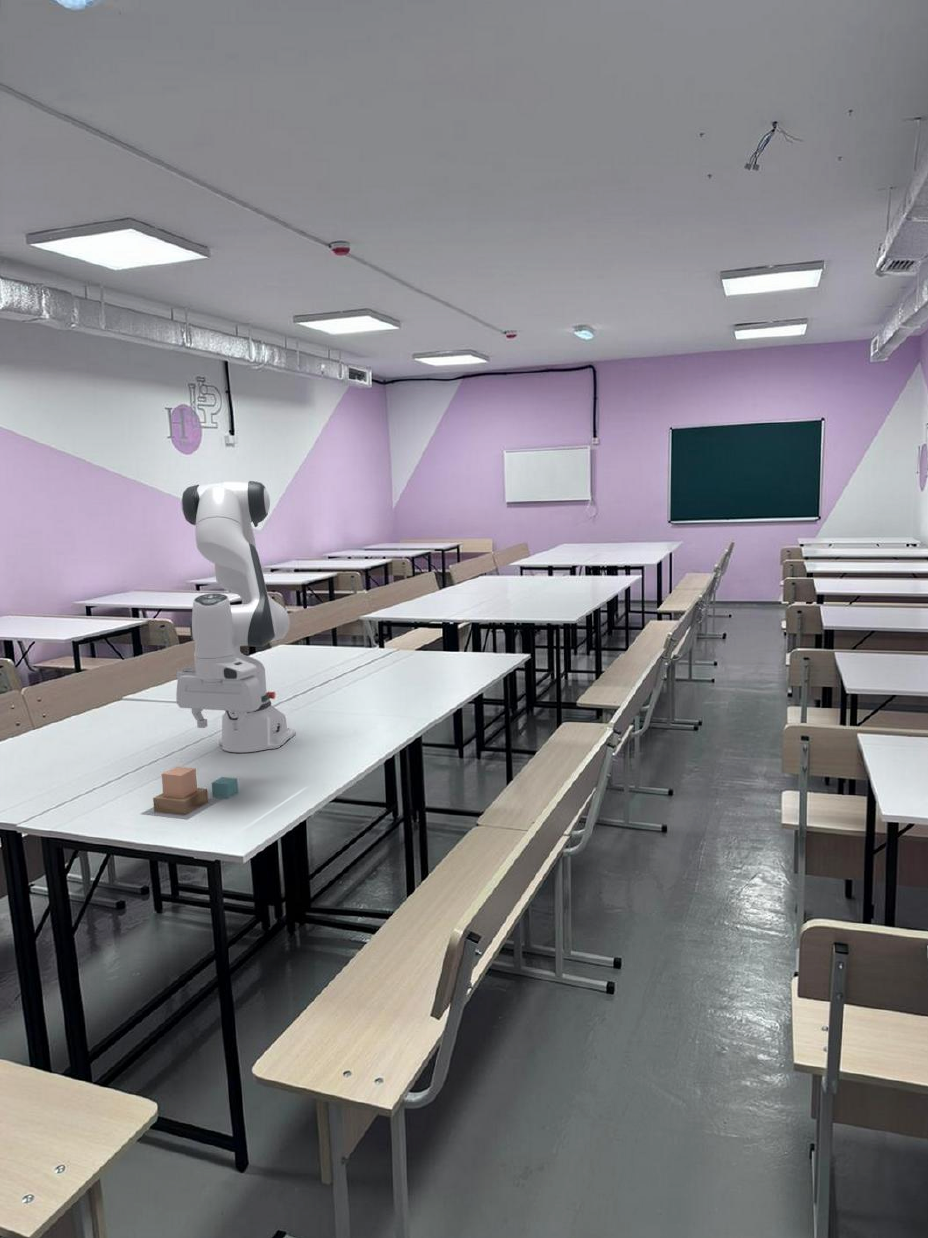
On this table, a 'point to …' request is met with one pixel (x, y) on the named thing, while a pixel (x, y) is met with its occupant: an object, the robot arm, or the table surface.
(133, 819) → the table surface
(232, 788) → the teal cube
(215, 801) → the mat
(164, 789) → the terracotta cube
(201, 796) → the base brick
